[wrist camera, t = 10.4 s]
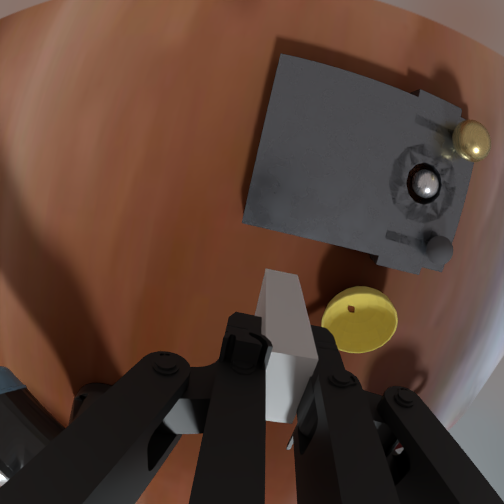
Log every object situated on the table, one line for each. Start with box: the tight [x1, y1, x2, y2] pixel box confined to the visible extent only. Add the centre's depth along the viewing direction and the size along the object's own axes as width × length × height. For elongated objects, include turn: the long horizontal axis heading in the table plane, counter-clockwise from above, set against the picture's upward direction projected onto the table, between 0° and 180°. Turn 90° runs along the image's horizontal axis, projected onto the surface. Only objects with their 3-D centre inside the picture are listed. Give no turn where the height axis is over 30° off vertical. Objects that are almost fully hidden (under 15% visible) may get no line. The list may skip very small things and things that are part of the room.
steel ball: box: [412, 169, 439, 198], centre depth 31 cm, size 3×3×3 cm
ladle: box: [321, 286, 398, 353], centre depth 39 cm, size 9×26×6 cm, turn 121°
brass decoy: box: [452, 120, 491, 162], centre depth 26 cm, size 5×5×5 cm
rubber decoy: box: [426, 236, 453, 265], centre depth 30 cm, size 3×3×3 cm
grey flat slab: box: [242, 54, 474, 275], centre depth 31 cm, size 24×20×2 cm
